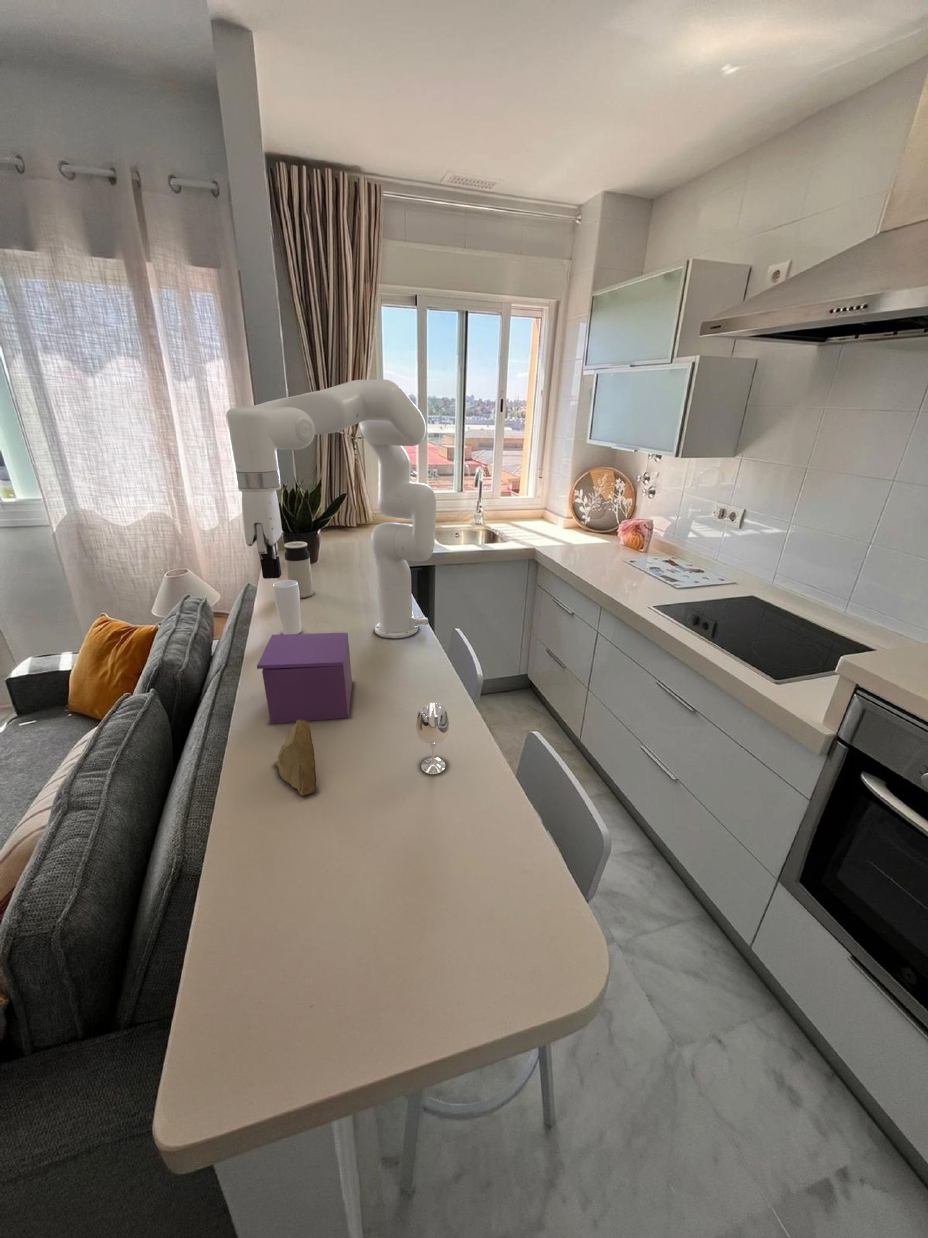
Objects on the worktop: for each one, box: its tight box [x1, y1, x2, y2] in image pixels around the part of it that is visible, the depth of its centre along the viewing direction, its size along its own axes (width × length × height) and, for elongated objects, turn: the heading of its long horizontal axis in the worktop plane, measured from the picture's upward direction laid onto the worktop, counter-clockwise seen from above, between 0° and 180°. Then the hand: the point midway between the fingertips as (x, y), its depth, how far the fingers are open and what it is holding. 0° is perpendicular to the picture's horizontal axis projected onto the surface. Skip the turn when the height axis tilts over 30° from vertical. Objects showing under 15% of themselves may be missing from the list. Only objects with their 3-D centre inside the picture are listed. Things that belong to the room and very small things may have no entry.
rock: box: [275, 719, 317, 797], centre depth 85 cm, size 11×9×10 cm
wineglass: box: [415, 702, 450, 775], centre depth 87 cm, size 6×6×12 cm
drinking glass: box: [272, 579, 302, 634], centre depth 140 cm, size 7×7×15 cm
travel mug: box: [283, 541, 314, 599], centre depth 169 cm, size 8×8×18 cm
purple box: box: [261, 638, 353, 725], centre depth 107 cm, size 16×15×12 cm
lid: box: [256, 632, 349, 670], centre depth 104 cm, size 16×15×1 cm
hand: (272, 576), depth 97 cm, fingers closed
